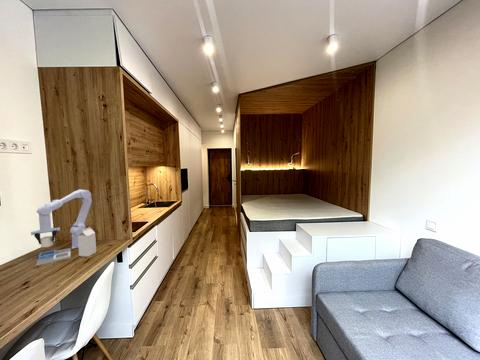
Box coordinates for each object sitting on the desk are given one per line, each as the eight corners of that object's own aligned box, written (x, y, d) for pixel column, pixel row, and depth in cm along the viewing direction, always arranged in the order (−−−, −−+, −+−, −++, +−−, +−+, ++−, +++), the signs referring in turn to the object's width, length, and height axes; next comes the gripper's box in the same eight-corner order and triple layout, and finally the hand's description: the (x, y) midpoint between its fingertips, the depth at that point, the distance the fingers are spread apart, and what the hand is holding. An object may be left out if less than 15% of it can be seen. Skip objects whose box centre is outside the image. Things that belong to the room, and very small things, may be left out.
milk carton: (96, 252, 151) (94, 227, 149) (88, 257, 144) (86, 230, 142) (87, 252, 152) (85, 226, 150) (79, 256, 145) (77, 230, 143)
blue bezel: (56, 250, 153) (56, 249, 153) (55, 255, 144) (55, 254, 144) (40, 254, 147) (40, 252, 147) (38, 259, 139) (38, 257, 139)
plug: (53, 244, 148) (52, 236, 147) (48, 246, 143) (47, 238, 143) (46, 244, 147) (45, 236, 147) (41, 247, 143) (40, 238, 142)
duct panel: (71, 248, 158) (70, 246, 158) (70, 258, 142) (70, 256, 141) (40, 254, 147) (39, 252, 147) (35, 266, 131) (35, 263, 131)
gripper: (59, 220, 151) (60, 238, 153) (31, 224, 142) (33, 243, 144) (58, 222, 146) (60, 241, 147) (29, 226, 137) (31, 246, 138)
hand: (46, 242), depth 145 cm, fingers closed on plug, 6 cm apart
